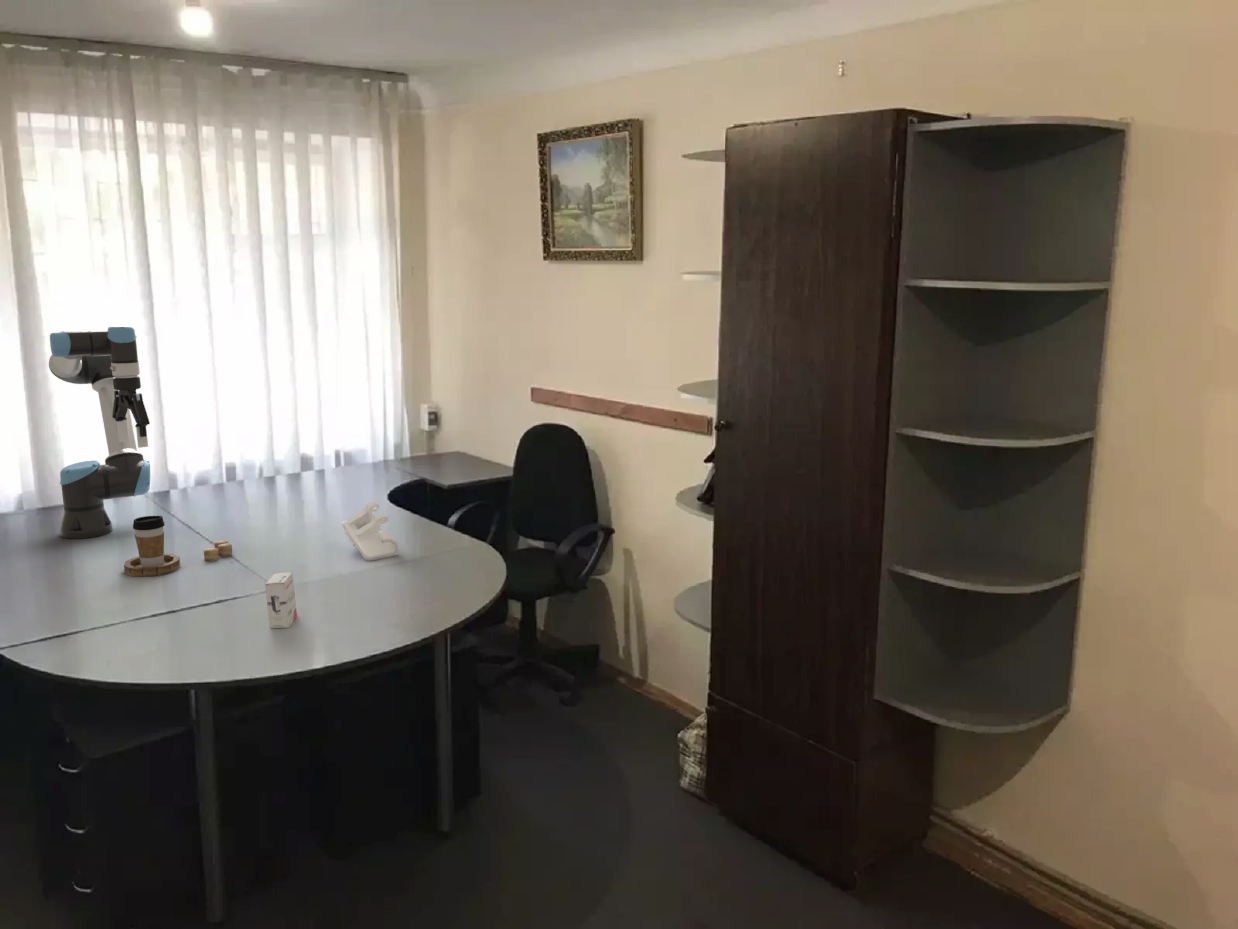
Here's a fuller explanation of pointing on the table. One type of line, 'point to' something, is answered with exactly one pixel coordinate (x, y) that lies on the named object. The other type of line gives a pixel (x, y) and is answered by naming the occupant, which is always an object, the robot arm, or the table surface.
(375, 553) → the white angular bracket-shaped piece
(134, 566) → the round tray
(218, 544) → the bead
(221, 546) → the bead
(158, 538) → the coffee cup
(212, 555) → the bead
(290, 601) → the ink box
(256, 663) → the table surface
